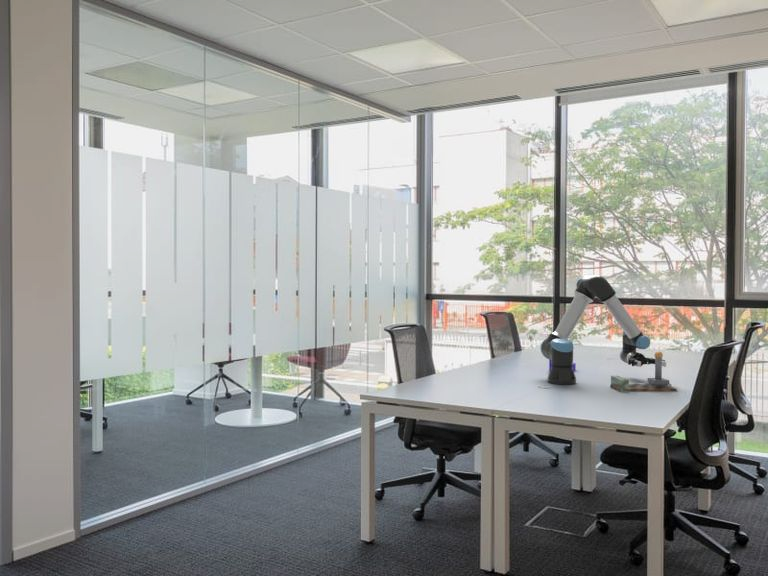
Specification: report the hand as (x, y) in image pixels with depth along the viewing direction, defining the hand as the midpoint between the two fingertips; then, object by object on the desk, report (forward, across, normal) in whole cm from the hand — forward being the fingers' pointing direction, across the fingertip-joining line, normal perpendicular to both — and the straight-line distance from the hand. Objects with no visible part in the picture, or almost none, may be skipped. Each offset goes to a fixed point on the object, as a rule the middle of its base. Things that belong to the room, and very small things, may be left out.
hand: (652, 364), depth 362 cm
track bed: (+8, +8, -12) cm, 17 cm away
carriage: (+8, 0, -10) cm, 12 cm away
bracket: (-56, +29, -12) cm, 65 cm away
